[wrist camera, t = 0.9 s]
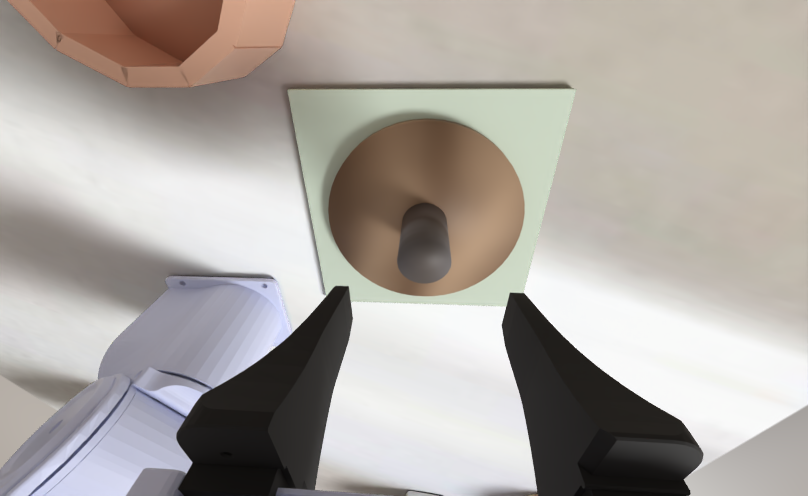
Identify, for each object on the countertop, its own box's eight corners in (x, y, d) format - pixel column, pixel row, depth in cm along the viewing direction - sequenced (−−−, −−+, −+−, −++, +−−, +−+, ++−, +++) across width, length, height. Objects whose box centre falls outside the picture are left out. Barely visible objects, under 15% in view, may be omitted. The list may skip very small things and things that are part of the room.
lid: (342, 287, 26) (325, 338, 21) (317, 118, 19) (283, 141, 14) (504, 292, 25) (521, 345, 21) (541, 118, 18) (579, 143, 14)
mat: (328, 296, 27) (326, 300, 27) (290, 88, 18) (287, 89, 18) (518, 302, 26) (519, 306, 26) (572, 88, 17) (576, 89, 17)
